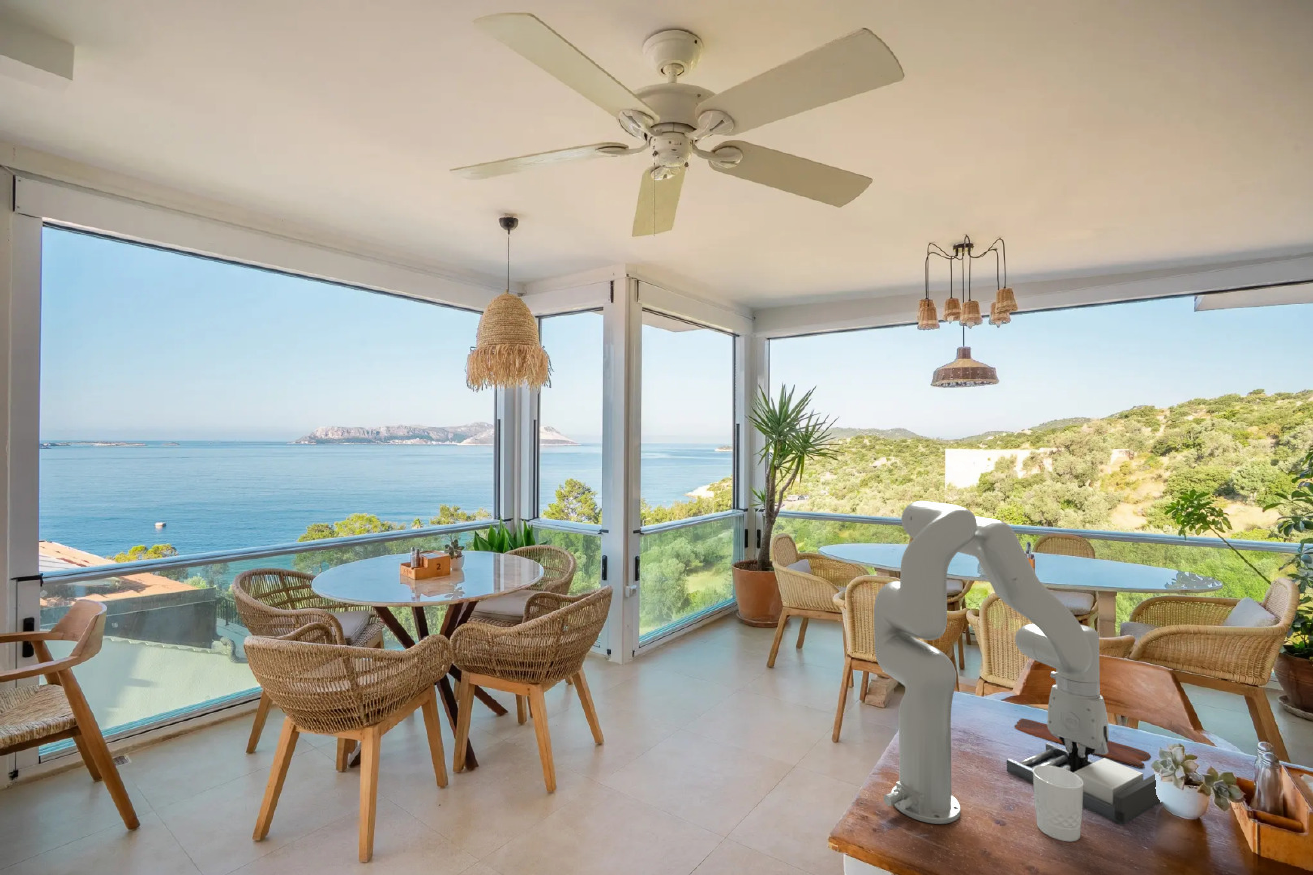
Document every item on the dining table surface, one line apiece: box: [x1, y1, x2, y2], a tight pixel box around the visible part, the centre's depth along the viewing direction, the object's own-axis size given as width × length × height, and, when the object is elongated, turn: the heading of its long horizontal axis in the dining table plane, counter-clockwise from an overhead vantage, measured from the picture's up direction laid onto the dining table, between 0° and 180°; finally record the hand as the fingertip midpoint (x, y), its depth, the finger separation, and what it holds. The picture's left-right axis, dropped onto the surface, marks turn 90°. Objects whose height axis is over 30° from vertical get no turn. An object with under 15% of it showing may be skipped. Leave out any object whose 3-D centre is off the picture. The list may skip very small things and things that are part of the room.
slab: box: [1073, 757, 1144, 805], centre depth 123 cm, size 12×7×3 cm, turn 119°
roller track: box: [1006, 742, 1161, 826], centre depth 128 cm, size 16×22×5 cm
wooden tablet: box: [1014, 718, 1151, 769], centre depth 147 cm, size 27×10×2 cm, turn 43°
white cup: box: [1032, 765, 1084, 842], centre depth 113 cm, size 8×8×10 cm
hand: (1078, 772), depth 128 cm, fingers closed
